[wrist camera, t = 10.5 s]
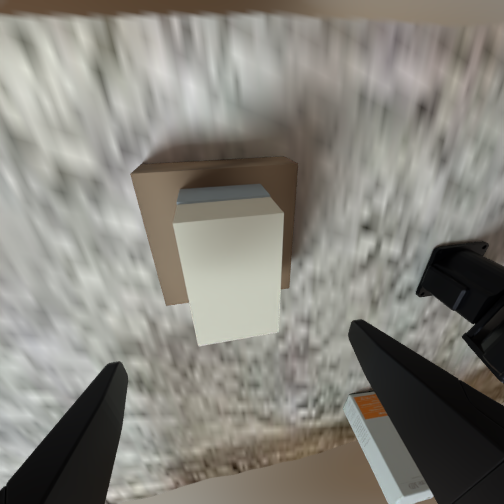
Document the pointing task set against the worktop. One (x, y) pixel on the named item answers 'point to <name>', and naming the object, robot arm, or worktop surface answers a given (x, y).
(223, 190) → the base plate
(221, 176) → the walnut stand
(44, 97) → the worktop surface
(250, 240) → the lid plate
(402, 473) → the skincare box
